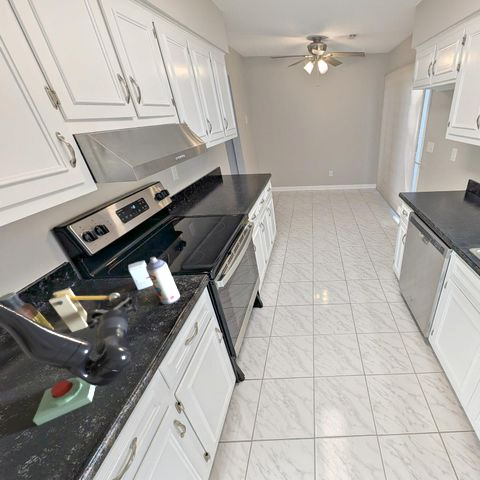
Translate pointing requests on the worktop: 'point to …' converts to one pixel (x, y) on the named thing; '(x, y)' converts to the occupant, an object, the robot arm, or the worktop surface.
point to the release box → (64, 401)
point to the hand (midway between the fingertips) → (114, 300)
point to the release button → (61, 388)
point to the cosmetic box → (140, 275)
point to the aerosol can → (162, 281)
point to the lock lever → (95, 297)
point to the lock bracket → (69, 310)
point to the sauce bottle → (23, 308)
